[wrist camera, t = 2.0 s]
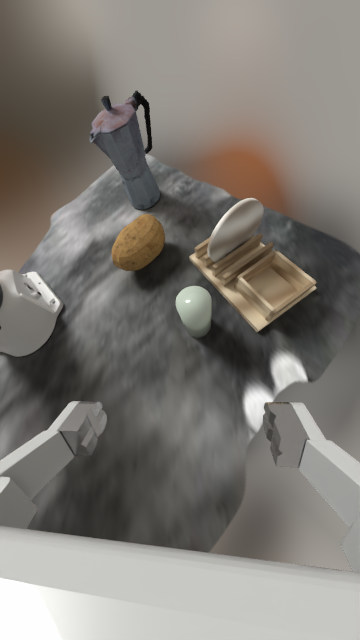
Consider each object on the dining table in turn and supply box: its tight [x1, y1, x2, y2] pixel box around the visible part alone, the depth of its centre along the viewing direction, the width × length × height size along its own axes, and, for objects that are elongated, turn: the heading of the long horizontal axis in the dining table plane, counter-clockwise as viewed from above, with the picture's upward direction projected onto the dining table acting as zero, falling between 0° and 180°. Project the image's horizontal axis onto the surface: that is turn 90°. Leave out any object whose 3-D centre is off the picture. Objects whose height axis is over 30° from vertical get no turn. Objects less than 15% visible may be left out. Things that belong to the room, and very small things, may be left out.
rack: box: [189, 198, 317, 332], centre depth 32 cm, size 22×14×13 cm, turn 34°
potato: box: [112, 214, 165, 271], centre depth 41 cm, size 10×14×8 cm
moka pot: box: [90, 91, 160, 210], centre depth 42 cm, size 10×15×20 cm, turn 139°
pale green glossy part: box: [176, 286, 211, 337], centre depth 31 cm, size 5×5×11 cm
